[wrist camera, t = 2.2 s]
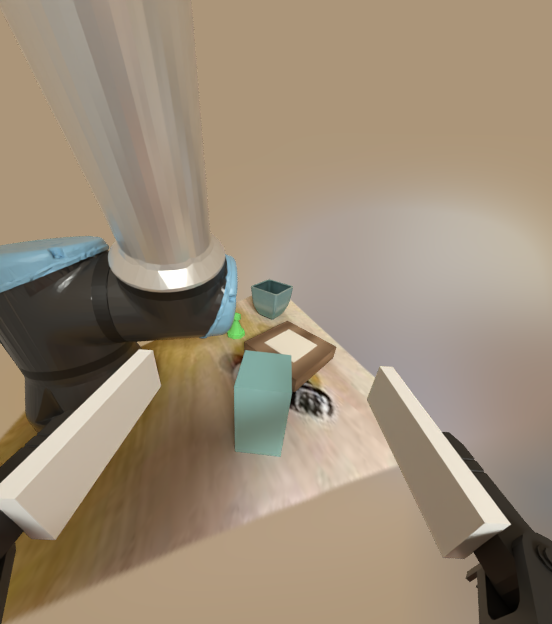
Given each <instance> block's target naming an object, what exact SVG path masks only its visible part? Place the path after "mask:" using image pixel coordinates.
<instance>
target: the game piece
mask: <svg viewBox="0 0 552 624" xmlns="http://www.w3.org/2000/svg"><path fill="white" fill-rule="evenodd" d="M240 319H241V314H239V313H235V315H234V321H233V323H232V326H231V328H230V329H229V331H228V337H230V338H232V339H239V338H242V337H243V336H244V335H245V332H244V329H243V328H241V326H240V323H239V321H238V320H240Z"/></svg>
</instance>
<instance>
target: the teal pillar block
mask: <svg viewBox="0 0 552 624" xmlns="http://www.w3.org/2000/svg"><path fill="white" fill-rule="evenodd" d="M291 395H292V363H291V355H285V354H276V353H267V352H258V351H248V350H245V353H244V356H243V360H242V363H241V366H240V369H239V372H238V376H237V379H236V382H235V385H234V421H235V451H236V452H244V453H253V454H262V455H270V456H279V457H280V456H281V450H282V445H283V439H284V434H285V428H286V423H287V417H288V412H289V406H290V401H291Z"/></svg>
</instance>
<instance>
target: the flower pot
mask: <svg viewBox="0 0 552 624" xmlns="http://www.w3.org/2000/svg"><path fill="white" fill-rule="evenodd" d="M251 289H252V299H253V304H254V306H255V308H256V310H257V312H258V313H259V314H260V315H263V316H265V317H267V318H270V319H274V318H276V317H277V316H279V315H281V314H282V313H283V312H284V310H285V309H286V307H287V306H288V304H289V301H290V297H291V294H292V289H293V286H290V285H287V284H283V283H280V282H276V281H273V280H266V281H263V282H261V283H258V284H255V285H253V286H251Z"/></svg>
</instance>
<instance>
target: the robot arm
mask: <svg viewBox="0 0 552 624" xmlns="http://www.w3.org/2000/svg"><path fill="white" fill-rule="evenodd" d="M0 9H1V11H2V13H3V15H4V17H5V19H6V21H7V23H8V25H9V27H10V29H11V31H12V33H13V35H14V37H15V39H16V41H17V43H18V45H19V47H20V49H21V51H22V53H23V55H24V57H25V59H26V61H27V63H28V65H29V67H30V69H31V71H32V73H33V75H34V77H35V79H36V81H37V83H38V85H39V87H40V89H41V91H42V93H43V95H44V97H45V99H46V101H47V103H48V105H49V107H50V109H51V111H52V113H53V115H54V117H55V119H56V121H57V123H58V124H59V127H60V129H61V131H62V133H63V135H64V137H65V139H66V141H67V143H68V145H69V147H70V149H71V151H72V153H73V155H74V156H75V159H76V161H77V162H78V165H79V167H80V169H81V170H82V173H83V175H84V177H85V178H86V181H87V183H88V185H89V186H90V189H91V191H92V193H93V195H94V197H95V198H96V201H97V203H98V205H99V207H100V209H101V211H102V213H103V215H104V217H105V219H106V220H107V223H108V225H109V226H110V228H111V230H112V233H113V234H114V237H115V238H116V241H115V242H114V243H113V245H112V246H111V248H110V250H109V251H108V249H109V246H108V245H107V244H106V242H105V241H104V240H103V239H102V238H100V237H91V236H79V237H64V238H53V239H43V240H35V241H28V242H20V243H13V244H7V245H1V246H0V343H1V344H2V346H3V347H4V348H5V350H6V351H7V352H8V354H9V355H10V357H11V358H12V359H13V361H14V362H15V363H16V365H17V366H18V368H19V369H20V370H21V372H22V374H23V375H24V377H25V411H26V416H27V419H28V421H29V422H30V424H31V425H32V426H33V428H34V429H35V430H36V431H37V432H38V433H37V436H34V437H33V438H32V439H31V440H30V441H28V442H27V443H26V444H25V446H24V447H23V448H21V449H20V450H19V451H17V452H16V453H15V454H14V455H13V456H12V457H11V458H10V459H9V460H8V461H6V462H5V463H4V464H3V465H2V466H1V467H0V624H1V623H2V618H3V613H4V607H5V602H6V597H7V592H8V587H9V582H10V577H11V572H12V567H13V562H14V557H15V552H16V546H15V541H16V540H17V539H18V537H19V536H20V535H21V534H22V532H24V533H26V534H27V535H28V536H29V537H30V538H31V539H44V540H56V538H57V537H58V536H59V534H60V533H61V531H62V530H63V528H64V527H65V525H66V524H67V522H68V521H69V519H70V518H71V517H72V515H73V514H74V512H75V511H76V509H77V508H78V506H79V505H80V503H81V502H82V501H83V499H84V498H85V496H86V495H87V493H88V492H89V490H90V489H91V487H92V486H93V485H94V483H95V482H96V480H97V479H98V477H99V476H100V474H101V473H102V471H103V470H104V468H105V467H106V466H107V464H108V463H109V461H110V460H111V458H112V457H113V455H114V454H115V452H116V451H117V450H118V448H119V447H120V445H121V444H122V442H123V441H124V439H125V438H126V436H127V435H128V434H129V432H130V431H131V429H132V428H133V426H134V425H135V423H136V422H137V420H138V419H139V417H140V416H141V415H142V413H143V412H144V410H145V409H146V407H147V406H148V404H149V403H150V401H151V400H152V399H153V397H154V396H155V394H156V393H157V391H158V390H159V388H160V387H161V383H160V379H159V375H158V370H157V366H156V362H155V358H154V353H153V350H143V349H142V348H141V347H140V346H139V344H138V343H137V342H138V341H153V340H167V339H183V338H207V337H209V336H217V335H223V334H225V333H227V332H228V331H229V329H230V328H231V326H232V323H233V320H234V315H235V309H236V295H237V267H236V262H235V260H234V258H233V257H231V256H228V255H226V254H225V250H224V247H223V245H222V243H221V242H220V240H219V239H218V238H217V237H216V236H215V235H213V234H212V233H210V223H209V211H208V199H207V187H206V174H205V162H204V150H203V138H202V125H201V114H200V101H199V88H198V76H197V65H196V52H195V39H194V29H193V28H194V27H193V16H192V2H191V0H0ZM367 401H368V403H369V405H370V407H371V409H372V411H373V413H374V415H375V418H376V420H377V422H378V424H379V426H380V428H381V430H382V432H383V434H384V436H385V438H386V440H387V443H388V445H389V447H390V449H391V451H392V453H393V455H394V457H395V459H396V461H397V463H398V465H399V468H400V470H401V472H402V474H403V476H404V478H405V480H406V482H407V484H408V486H409V488H410V490H411V493H412V495H413V497H414V499H415V501H416V503H417V505H418V507H419V509H420V511H421V513H422V515H423V518H424V520H425V522H426V524H427V526H428V528H429V530H430V532H431V534H432V536H433V538H434V541H435V543H436V545H437V547H438V549H439V551H440V553H441V555H442V557H443V558H455V559H465V558H466V557H468V556H469V555H470V554H472V553H473V552H474V554H475V555H476V557H477V559H478V561H479V562H480V564H478V565H477V566H475V567H474V568H472V569H471V570H469V571H468V572H467V576H466V579H467V580H468V581H469V582H471V581H472V580H474V579H475V578H477V580H478V584H477V586H476V587H477V588H478V604H479V624H552V541H551V540H549V539H548V538H546V537H544V536H542V535H540V534H538V533H535V532H534V531H533V530H532V529H531V528H530V527H529V525H528V524H527V523H526V522H525V521H524V520H523V518H521V516H520V515H519V514H518V512H517V511H516V510H515V509H514V507H513V506H512V505H511V504H510V502H509V501H508V500H507V499H506V497H505V496H504V495H503V494H502V493H501V491H500V490H499V489H498V487H497V486H496V485H495V484H494V482H493V481H492V480H491V479H490V478H489V476H488V475H487V474H486V473H484V470H483V469H482V468H481V466H480V465H479V464H478V463H477V461H475V460H474V458H473V456H472V455H471V454H470V453H469V451H468V450H467V449H466V448H465V446H464V445H463V444H462V443H461V442H459V441H458V440H457V439H456V438H455V437H454V436H453V435H451V434H450V433H449V432H441V431H440V430H439V428H438V427H437V425H436V424H435V423H434V421H433V420H432V419H431V417H430V416H429V415H428V413H427V412H426V411H425V409H424V408H423V407H422V405H421V404H420V403H419V401H418V400H417V399H416V397H415V396H414V395H413V393H412V392H411V391H410V389H409V388H408V387H407V385H406V384H405V383H404V381H403V380H402V379H401V377H400V376H399V375H398V374H397V372H396V371H395V369H394V368H393V367H383V366H380V367H379V370H378V372H377V375H376V377H375V380H374V382H373V385H372V388H371V390H370V393H369V395H368V398H367Z"/></svg>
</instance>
